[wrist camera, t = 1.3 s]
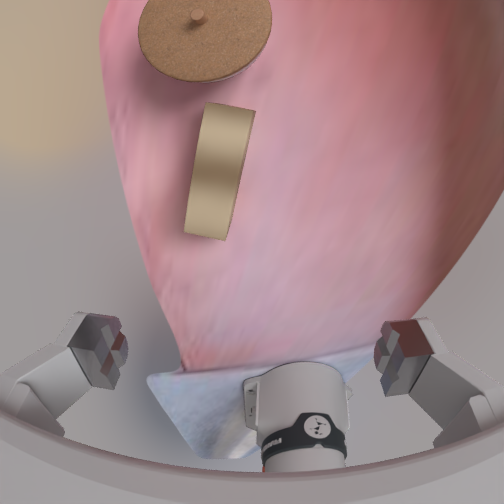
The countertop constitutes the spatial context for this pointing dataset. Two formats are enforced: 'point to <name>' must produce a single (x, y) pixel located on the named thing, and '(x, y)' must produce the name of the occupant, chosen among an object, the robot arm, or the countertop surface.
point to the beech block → (217, 169)
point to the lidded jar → (204, 37)
